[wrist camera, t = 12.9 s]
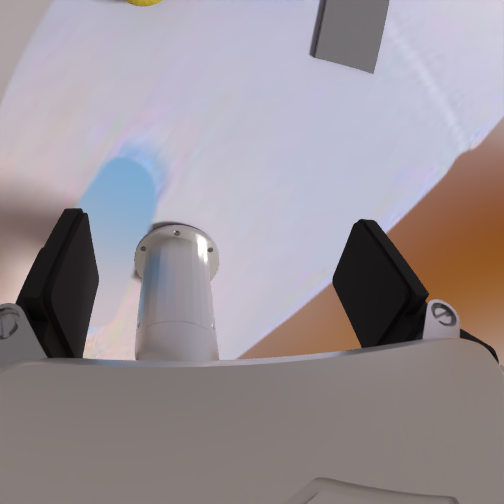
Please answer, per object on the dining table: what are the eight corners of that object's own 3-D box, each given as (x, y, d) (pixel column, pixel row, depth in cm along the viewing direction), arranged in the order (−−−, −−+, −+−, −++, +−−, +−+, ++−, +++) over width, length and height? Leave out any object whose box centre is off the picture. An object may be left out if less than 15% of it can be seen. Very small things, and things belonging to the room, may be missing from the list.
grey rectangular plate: (371, 73, 33) (373, 73, 32) (313, 57, 31) (315, 57, 31) (387, -1, 26) (389, -1, 26) (329, -22, 24) (331, -23, 24)
